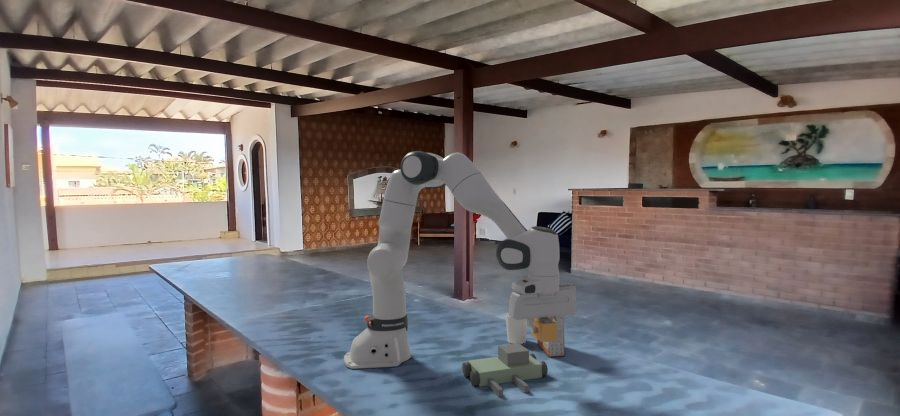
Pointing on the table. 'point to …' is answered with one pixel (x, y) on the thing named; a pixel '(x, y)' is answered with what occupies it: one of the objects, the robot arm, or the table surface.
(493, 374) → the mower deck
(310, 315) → the table surface
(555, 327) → the orange block grey plate
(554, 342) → the cracker box
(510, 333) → the white cup
